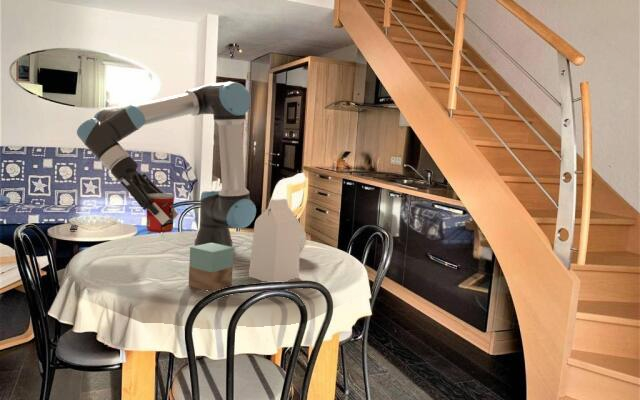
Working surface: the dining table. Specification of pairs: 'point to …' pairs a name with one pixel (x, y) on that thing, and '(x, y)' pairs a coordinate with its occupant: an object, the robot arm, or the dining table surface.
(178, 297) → the dining table surface
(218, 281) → the walnut block
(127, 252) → the dining table surface
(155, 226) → the canned food
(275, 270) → the milk
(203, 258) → the teal block
